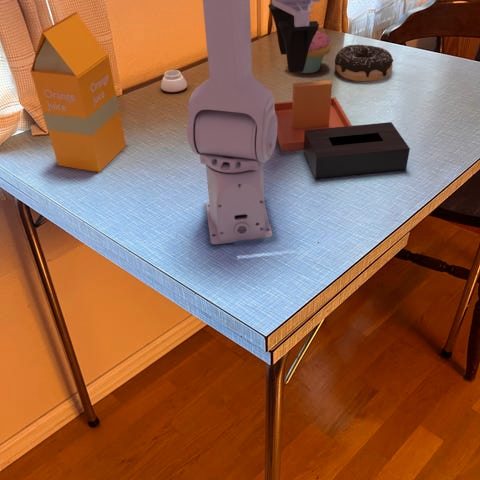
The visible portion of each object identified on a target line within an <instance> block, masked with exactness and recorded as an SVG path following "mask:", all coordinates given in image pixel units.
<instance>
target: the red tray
mask: <svg viewBox="0 0 480 480" xmlns="http://www.w3.org/2000/svg"><path fill="white" fill-rule="evenodd" d="M292 104H293V100H290V101H279V102H278V101H277V102H274V107H275V114H276V116H277V141H278V144H279V146H280V149H281V152H292V151H304V134H305V130H313V129H324V128H334V127H345V126H353V125H352V123H351V121H350V120H349V118H348V116H347V115H346V113H345V111H344V109H343V108H342V106H341V104H340V102H339V101H338V99H337V97H335V96H334V97H333V96H331V105H330V119H329V126H321V127H310V128H300V129H293V127H292Z"/></svg>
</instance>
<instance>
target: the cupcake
mask: <svg viewBox="0 0 480 480" xmlns="http://www.w3.org/2000/svg"><path fill="white" fill-rule="evenodd" d="M331 48H332V45H331V39H330V37H329V36H328V35H327V34H326V33H324V32H323V31H321V30H319V29H318V30H317V32H316V34H315V35H314V37H313V39H312V42H311V44H310V47H309V51H308V55H307V59H306V63H305V67H304V70H303V72H300V73H302V74H312V73H316V72H318V71H319V70H320V69H321V65H322V62H323V59H324V58H325V56H326V55H328V54H329V53H330V51H331Z"/></svg>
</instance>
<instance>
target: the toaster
mask: <svg viewBox="0 0 480 480" xmlns="http://www.w3.org/2000/svg"><path fill="white" fill-rule="evenodd" d="M410 149H411V148H410V146H409V144H407V142H406V141H405V139H404V138H403V137H402V135H401V134H400V132H399V131H398V130H397V128H396V126H395V125H394V124H393V122H391V121H390V122H379V123H378V122H377V123H368V124H367V123H366V124H357V125H356V124H355V125H352V126H345V127H334V128H324V129H313V130H305V134H304V149H303V153H304V156H305V158H306V160H307V163H308V165H309V168H310V170H311V173H312V175H313V177H314V180H315V181H318V180H320V181H321V180H329V179H339V178H347V177H348V178H350V177H357V176H359V177H360V176H371V175H377V174H389V173H399V172H406V171H407V167H408V161H409V156H410Z"/></svg>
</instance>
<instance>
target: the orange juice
mask: <svg viewBox="0 0 480 480" xmlns="http://www.w3.org/2000/svg"><path fill="white" fill-rule="evenodd" d="M111 67H112V66H111V63H110V57H109V53H107V51H106V50H105V49H104V47H103V46H102V45H101V43H100V42H99V41H98V39H97V38H96V36H95V35H94V34H93V33H92V31H91V30H90V28H89V27H88V26H87V25H86V23H85V22H84V20H83V19H82V18H81V16H80V15H79V14H78V11H74V12H73V13H72V14H70V15H68V16H66V17H64V18H63V19H61V20H59V21H57V22H56V23H54V24H52V25H51V26H49V27H46V29H43V30H41V34H40V38H39V41H38V45H37V47H36V52H35V55H34V58H33V62H32V65H31V69H30V73H31V78H32V82H33V84H34V88H35V91H36V95H37V98H38V101H39V105H40V108H41V112H42V116H43V119H44V123H45V126H46V130H47V132H48V136H49V139H50V142H51V145H52V148H53V152H54V155H55V159H56V162H57V165H58V166H59V167H66V168H72V169H77V170H84V171H91V172H96V173H97V172H98V173H101V171H103V170H104V169H105V167H107V165H108V164H110V162H112V161H113V159H115V158H116V157H117V156H118V155H119V154H120V153H121V152H122V151H123V150H124V149H125V148H126V147H127V143H126V137H125V134H124V128H123V122H122V118H121V114H120V106H119V101H118V96H117V95H118V94H117V92H116V88H115V83H114V78H113V71H112V68H111Z"/></svg>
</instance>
